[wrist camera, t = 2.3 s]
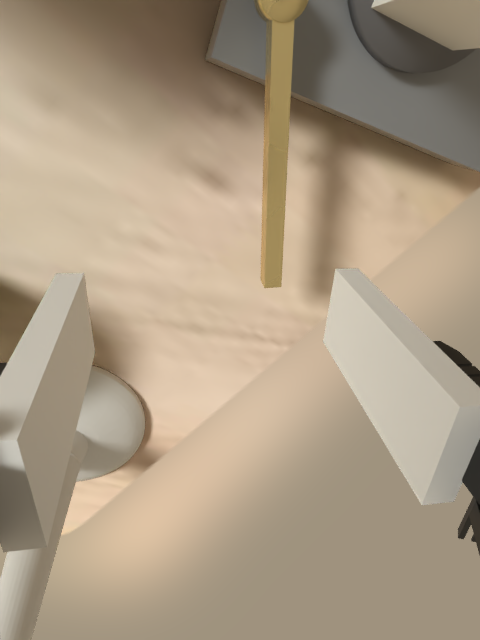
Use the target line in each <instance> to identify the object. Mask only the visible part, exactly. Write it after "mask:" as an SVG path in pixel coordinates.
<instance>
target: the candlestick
mask: <svg viewBox="0 0 480 640" xmlns="http://www.w3.org/2000/svg"><path fill="white" fill-rule="evenodd" d="M144 431H145V414H144V410H143V407H142V404H141V402H140V400H139V398H138V396H137V395H136V394H135V392H134V391H133V390H132V389H131V388H130V387H129V386H128V385H127V384H126V383H125V382H124V381H123V380H121V379H120V378H119V377H117V376H115V375H114V374H112V373H110V372H108V371H106V370H104V369H102V368H99V367H96V366H93V365H92V367H91V371H90V375H89V379H88V383H87V387H86V392H85V396H84V400H83V404H82V408H81V412H80V416H79V420H78V424H77V428H76V432H75V436H74V440H73V445H72V449H71V453H70V457H69V461H68V465H67V469H66V473H65V477H64V481H63V485H62V489H61V493H60V497H59V502H58V506H57V510H56V514H55V518H54V522H53V526H52V530H51V534H50V538H49V542H48V546H47V548H38V549H29V550H20V551H11V552H8V553H7V556H6V560H5V564H4V568H3V571H2V575H1V579H0V640H31V639H32V635H33V632H34V628H35V625H36V621H37V617H38V614H39V610H40V607H41V603H42V599H43V596H44V592H45V589H46V585H47V582H48V578H49V575H50V571H51V568H52V564H53V561H54V557H55V554H56V550H57V546H58V543H59V539H60V536H61V532H62V529H63V525H64V522H65V518H66V514H67V511H68V507H69V504H70V500H71V497H72V493H73V490H74V486H75V483H76V482H77V481H85V480H90V479H94V478H97V477H100V476H103V475H105V474H108V473H110V472H112V471H114V470H116V469H117V468H119V467H121V466H122V465H123V464H125V463H126V462H127V461H128V460H129V459H130V458H131V457H132V456H133V455H134V454H135V453H136V451H137V449H138V448H139V446H140V444H141V442H142V439H143V436H144Z"/></svg>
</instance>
